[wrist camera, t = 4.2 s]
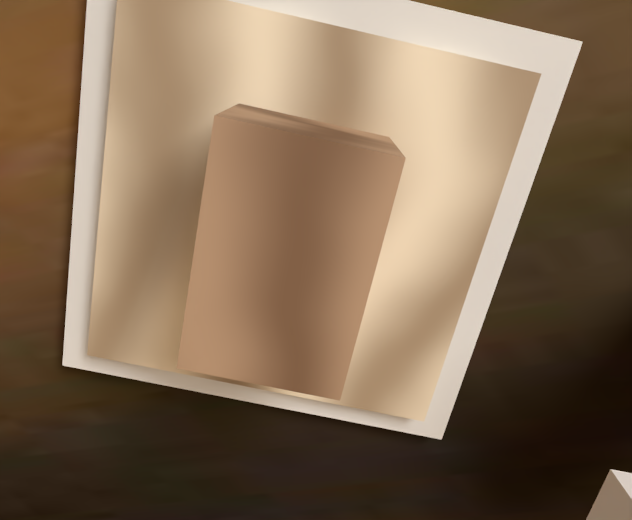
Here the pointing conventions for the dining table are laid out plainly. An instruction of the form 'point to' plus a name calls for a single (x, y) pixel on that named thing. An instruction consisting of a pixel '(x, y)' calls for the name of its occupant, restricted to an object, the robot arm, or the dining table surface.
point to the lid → (294, 201)
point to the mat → (374, 18)
